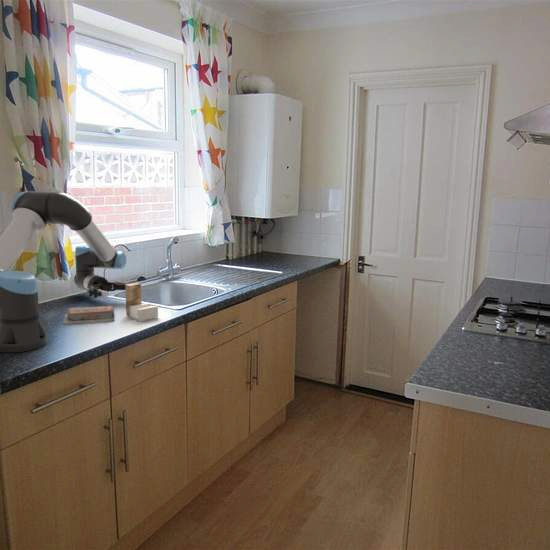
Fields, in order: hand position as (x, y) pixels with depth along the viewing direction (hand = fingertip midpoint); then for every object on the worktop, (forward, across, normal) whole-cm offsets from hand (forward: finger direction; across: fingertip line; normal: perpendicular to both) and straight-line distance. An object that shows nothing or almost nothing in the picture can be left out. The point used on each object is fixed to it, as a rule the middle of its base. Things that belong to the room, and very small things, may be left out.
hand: (122, 292), depth 210 cm
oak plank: (+9, 0, -7) cm, 11 cm away
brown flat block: (+4, +16, -8) cm, 18 cm away
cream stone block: (+16, 0, -7) cm, 17 cm away
